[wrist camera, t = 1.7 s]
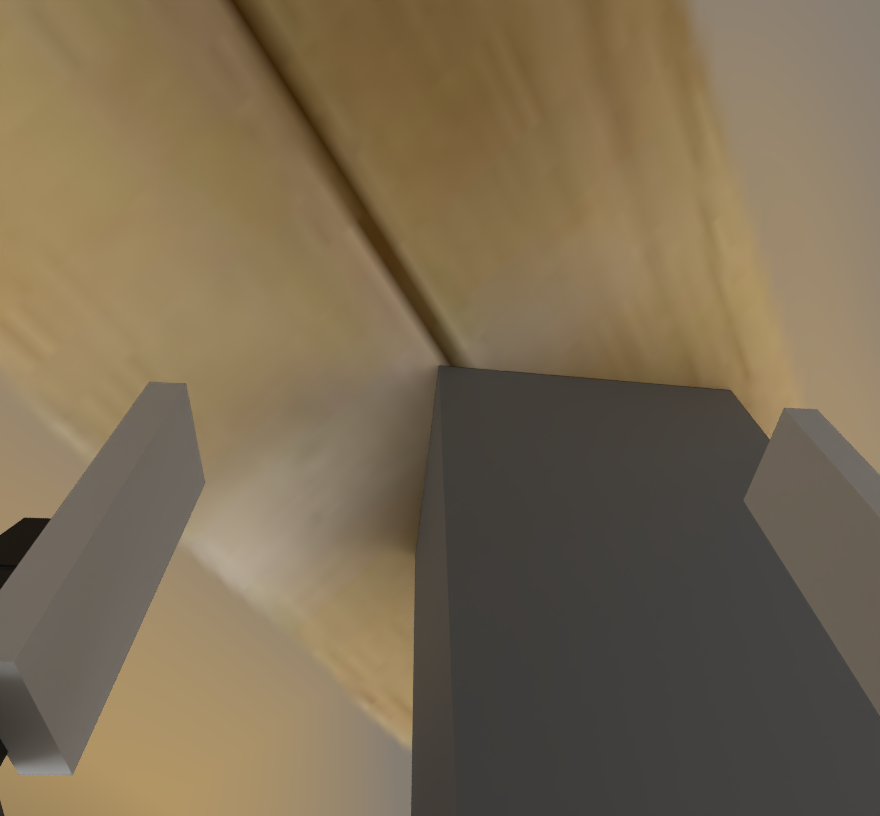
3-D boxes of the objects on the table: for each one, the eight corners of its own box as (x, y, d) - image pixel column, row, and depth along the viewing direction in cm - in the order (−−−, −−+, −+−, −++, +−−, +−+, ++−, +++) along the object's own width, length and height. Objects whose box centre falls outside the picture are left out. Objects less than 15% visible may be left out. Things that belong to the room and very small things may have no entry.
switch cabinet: (439, 365, 37) (467, 1082, 12) (752, 392, 38) (1326, 1077, 14) (415, 555, 45) (405, 1194, 21) (671, 571, 47) (936, 1184, 23)
